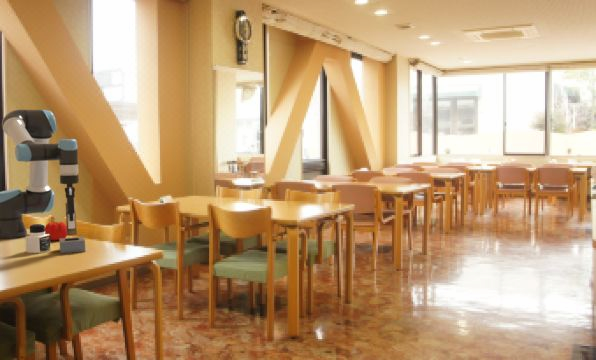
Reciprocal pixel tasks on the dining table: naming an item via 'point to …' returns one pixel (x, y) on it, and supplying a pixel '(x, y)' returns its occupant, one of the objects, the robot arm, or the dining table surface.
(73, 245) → the socket
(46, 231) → the red bell pepper
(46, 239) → the medicine bottle
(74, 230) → the peg
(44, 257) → the dining table surface
